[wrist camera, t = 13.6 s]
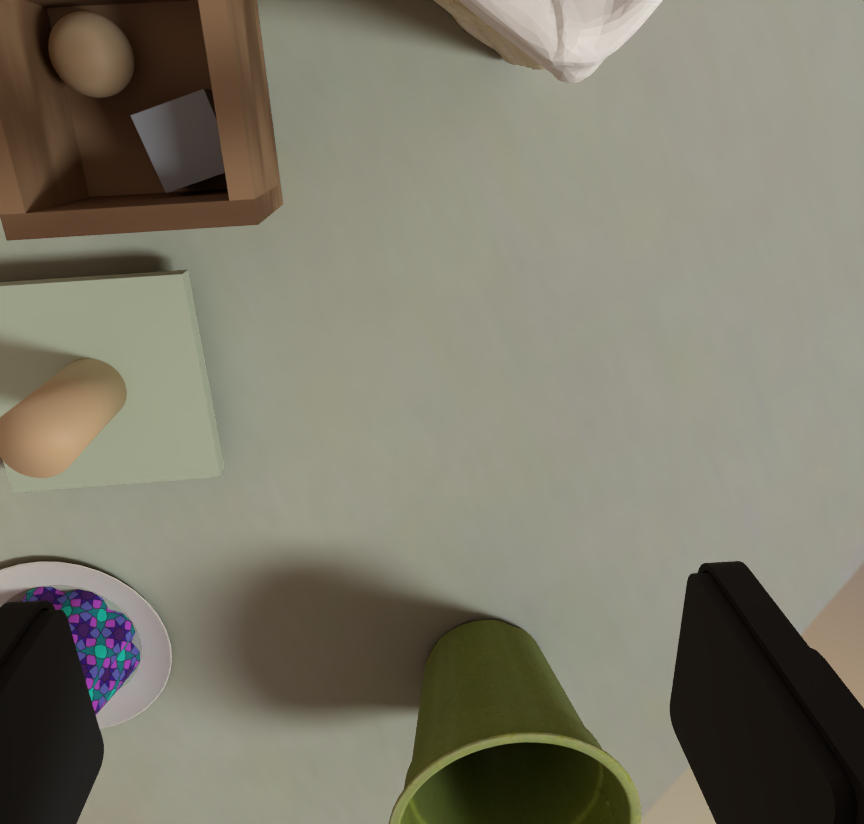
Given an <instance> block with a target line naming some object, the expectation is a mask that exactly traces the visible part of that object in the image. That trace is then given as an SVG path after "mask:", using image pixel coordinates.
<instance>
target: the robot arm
mask: <svg viewBox="0 0 864 824" xmlns="http://www.w3.org/2000/svg"><path fill="white" fill-rule="evenodd" d="M670 716H671V722H672V725H673V729H674V731H675V734H676V736H677V738H678V740H679V742H680V745H681V747H682V749H683V751H684V753H685V756H686V758H687V760H688V762H689V764H690V767H691V769H692V771H693V773H694V776H695V778H696V780H697V782H698V784H699V786H700V789H701V791H702V793H703V795H704V797H705V800H706V802H707V804H708V806H709V809H710V811H711V813H712V815H713V817H714V820H715V822H716V824H864V708H863V707H862V706H861V705H860V703H859V702H858V701H857V699H856V698H855V697H854V696H853V694H852V693H851V692H850V690H849V689H848V688H847V687H846V685H845V684H844V683H843V682H842V680H841V679H840V678H839V677H838V675H837V674H836V673H835V671H834V670H833V669H832V667H831V666H830V665H829V664H828V662H827V661H826V660H825V659H824V658H823V657H822V656H821V655H820V654H819V653H818V652H817V651H816V650H814V649H812V648H810V647H809V646H808V645H807V643H806V642H805V641H804V640H803V638H802V637H801V636H800V634H799V633H798V632H797V630H796V629H795V628H794V627H793V625H792V624H791V623H790V621H789V620H788V619H787V618H786V616H785V615H784V614H783V612H782V611H781V610H780V608H779V607H778V606H777V605H776V603H775V602H774V601H773V599H772V598H771V597H770V595H769V594H768V593H767V592H766V590H765V589H764V588H763V586H762V585H761V584H760V583H759V581H758V580H757V579H756V577H755V576H754V575H753V573H752V572H751V571H750V570H749V568H748V567H747V566H746V565H745V564H744V563H743V562H740V561H735V562H717V563H704V564H702V565H701V566H700V568H699V571H698V573H694V574H690V576H689V577H688V581H687V587H686V594H685V601H684V608H683V615H682V622H681V629H680V636H679V643H678V651H677V658H676V665H675V672H674V679H673V686H672V693H671V700H670ZM103 754H104V744H103V739H102V735H101V732H100V729H99V725H98V722H97V718H96V715H95V711H94V708H93V704H92V701H91V698H90V694H89V691H88V687H87V684H86V680H85V677H84V674H83V670H82V667H81V663H80V660H79V656H78V653H77V649H76V646H75V643H74V639H73V636H72V632H71V629H70V625H69V622H68V618H67V616H66V614H65V612H64V611H63V610H55V607H54V605H53V604H52V603H51V602H50V601H46V600H42V601H25V602H8V603H6V604H3V605H2V606H1V607H0V824H76V823H77V821H78V819H79V816H80V814H81V812H82V809H83V807H84V805H85V803H86V800H87V798H88V796H89V793H90V791H91V789H92V786H93V784H94V782H95V780H96V777H97V775H98V773H99V770H100V768H101V765H102V760H103Z"/></svg>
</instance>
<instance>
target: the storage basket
mask: <svg viewBox="0 0 864 824" xmlns="http://www.w3.org/2000/svg"><path fill="white" fill-rule="evenodd" d="M433 1H435V2H436V3H437V4H438V5H440V6H441V7H443V8H444V9H445V10H447V11H448V12H449V13H450V14H451V15H452V16H453V17H454V18H455V20H456V21H457V23H458V24H459V25H460V26H461V27H462V28H463V29H464V30H466V31H467V32H468V33H469V34H471V35H472V36H473V37H475V38H476V39H478V40H479V41H481V42H482V43H484V44H486V45H487V46H489V47H491V48H492V49H494V50H496V51H497V52H498V53H499V54H500V55H501V56H502V58H503V59H504V60H505V61H506V62H508V63H510V64H513V65H520V66H526V67H528V68H532V69H540V70H544V69H546V70H548V71H549V72H551V73H552V74H553V75H554V76H555V77H556V78H557V79H558V80H560V81H563V82H567V83H578V82H580V81H582V80H584V79H585V78H587V77H588V76H590V75H591V74H592V73H593V72H594V71H595V70H596V69H597V68H598V67H599V66H600V64H601V63H602V62H603V61H604V60H605V58H606V57H608V56H609V55H611V54H612V53H614V52H615V51H616V50H617V49H618V48H620V47H621V46H622V45H623V44H624V43H625V42H626V41H627V40H628V39H629V38H630V37H631V36H632V35H633V34H635V32H636V31H637V30H638V29H639V28H640V27H641V26H642V24H643V23H644V22H645V21H646V20H647V19H648V17H649V16H650V15H651V14H652V13H653V11H654V10H655V9H656V8H657V7H658V5H659V4H660V3H661V2H662V1H663V0H433Z"/></svg>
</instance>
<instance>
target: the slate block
mask: <svg viewBox="0 0 864 824" xmlns="http://www.w3.org/2000/svg"><path fill="white" fill-rule="evenodd" d="M130 116H131V118H132V120H133V122H134V124H135V127H136V129H137V131H138V133H139V135H140V138H141V140H142V142H143V144H144V146H145V149H146V151H147V153H148V155H149V157H150V160H151V162H152V164H153V166H154V168H155V171H156V173H157V175H158V177H159V179H160V182H161V184H162V186H163V188H164V190H165V192H166V193H169V192H172V191H175V190H178V189H181V188H184V187H187V186H190V185H193V184H196V183H199V182H201V181H204V180H207V179H210V178H213V177H215V176H218V175H221V174H224V173H225V169H224V163H223V157H222V150H221V144H220V137H219V131H218V125H217V118H216V112H215V105H214V99H213V93H212V90H207V89H202V90H199V91H196V92H194V93H191V94H188V95H185V96H183V97H180V98H177V99H174V100H172V101H169V102H166V103H163V104H161V105H158V106H155V107H152V108H150V109H147V110H144V111H141V112H139V113H136V114H133V115H130Z"/></svg>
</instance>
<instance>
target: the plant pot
mask: <svg viewBox="0 0 864 824" xmlns="http://www.w3.org/2000/svg"><path fill="white" fill-rule="evenodd" d="M389 824H641V804H640V799H639V795H638V792H637V789H636V787H635V785H634V783H633V781H632V779H631V778H630V776H629V775H628V773H627V772H626V771H625V769H624V768H623V767H622V766H621V765H620V764H619V763H618V762H617V761H616V760H615V759H614V758H613V757H612V756H610V755H609V754H608V753H607V752H605V751H603V749H602V748H601V746H600V745H599V743H598V741H597V740H596V739H595V737H594V736H593V735H592V734H591V733H590V732H589V731H588V730H587V729H586V728H585V726H584V725H583V723H582V721H581V720H580V718H579V716H578V714H577V713H576V711H575V709H574V707H573V706H572V704H571V702H570V700H569V698H568V697H567V695H566V693H565V691H564V690H563V688H562V686H561V684H560V683H559V681H558V679H557V678H556V676H555V674H554V672H553V671H552V669H551V667H550V665H549V664H548V662H547V660H546V658H545V657H544V655H543V653H542V651H541V650H540V648H539V646H538V645H537V643H536V641H535V640H534V639H533V638H532V636H531V635H529V634H528V633H527V632H526V631H524V630H523V629H519V628H517V627H514V626H512V625H509V624H506V623H504V622H502V621H498V620H479V621H473V622H469V623H466V624H463V625H460V626H458V627H456V628H454V629H452V630H451V631H449V632H447V633H446V634H445V635H444V636H442V637H441V638H440V639H439V640H438V642H437V644H436V645H435V647H434V648H433V650H432V651H431V653H430V655H429V657H428V658H427V661H426V665H425V671H424V677H423V684H422V692H421V700H420V707H419V714H418V721H417V728H416V736H415V743H414V750H413V757H412V762H411V764H410V766H409V769H408V772H407V775H406V780H405V786H404V790H403V791H402V793H401V794H400V796H399V797H398V799H397V802H396V804H395V806H394V808H393V810H392V813H391V817H390V821H389Z"/></svg>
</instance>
